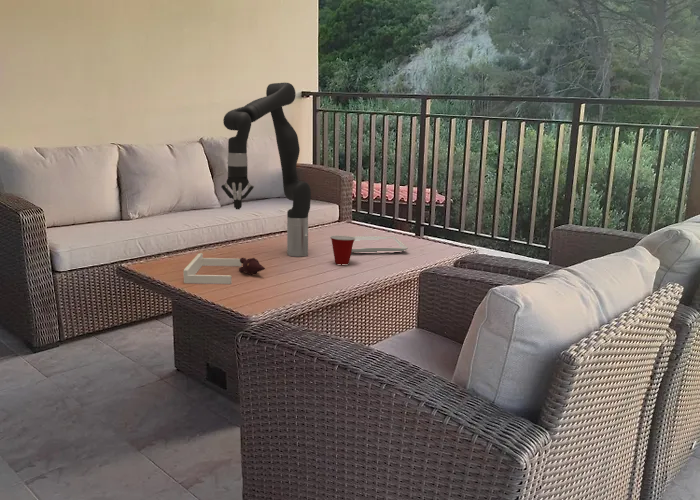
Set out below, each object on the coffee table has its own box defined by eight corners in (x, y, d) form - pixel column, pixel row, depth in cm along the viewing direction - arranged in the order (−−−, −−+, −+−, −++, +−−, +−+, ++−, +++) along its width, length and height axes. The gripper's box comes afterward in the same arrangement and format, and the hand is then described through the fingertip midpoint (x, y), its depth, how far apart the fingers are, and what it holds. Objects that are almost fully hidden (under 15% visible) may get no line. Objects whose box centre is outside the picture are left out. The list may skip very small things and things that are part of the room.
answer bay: (241, 265, 263) (241, 253, 262) (231, 284, 237) (230, 271, 235) (199, 264, 263) (198, 253, 262) (183, 283, 236) (183, 270, 235)
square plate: (408, 255, 290) (408, 247, 289) (349, 256, 285) (349, 248, 284) (394, 242, 316) (394, 235, 315) (340, 243, 311) (340, 235, 310)
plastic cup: (359, 262, 273) (359, 235, 270) (348, 268, 264) (349, 240, 261) (336, 259, 278) (337, 232, 275) (325, 264, 268) (325, 237, 265)
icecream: (272, 260, 248) (248, 257, 257) (258, 258, 242) (233, 255, 252) (270, 278, 247) (245, 273, 257) (256, 276, 242) (231, 272, 252)
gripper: (256, 164, 248) (255, 208, 251) (221, 163, 247) (222, 207, 251) (253, 166, 240) (253, 211, 244) (218, 165, 240) (219, 210, 244)
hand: (237, 209), depth 248 cm, fingers closed
